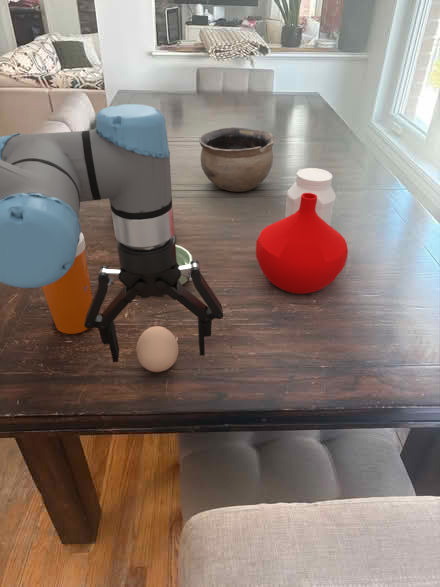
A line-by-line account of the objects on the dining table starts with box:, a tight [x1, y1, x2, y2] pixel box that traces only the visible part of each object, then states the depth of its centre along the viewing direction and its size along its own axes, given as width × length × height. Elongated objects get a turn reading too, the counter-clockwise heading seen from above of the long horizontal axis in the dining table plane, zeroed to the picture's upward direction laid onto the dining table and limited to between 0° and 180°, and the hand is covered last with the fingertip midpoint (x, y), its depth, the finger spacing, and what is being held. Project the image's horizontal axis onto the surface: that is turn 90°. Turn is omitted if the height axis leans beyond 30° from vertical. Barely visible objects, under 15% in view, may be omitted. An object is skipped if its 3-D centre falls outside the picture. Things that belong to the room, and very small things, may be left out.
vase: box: [255, 193, 349, 295], centre depth 83 cm, size 18×18×19 cm
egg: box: [135, 325, 179, 373], centre depth 66 cm, size 7×7×8 cm
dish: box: [175, 244, 193, 286], centre depth 88 cm, size 14×14×4 cm
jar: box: [284, 167, 337, 226], centre depth 101 cm, size 12×10×15 cm
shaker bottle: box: [41, 232, 93, 335], centre depth 70 cm, size 9×9×20 cm
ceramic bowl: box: [198, 126, 275, 193], centre depth 123 cm, size 22×22×15 cm
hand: (159, 352), depth 66 cm, fingers open, 13 cm apart
